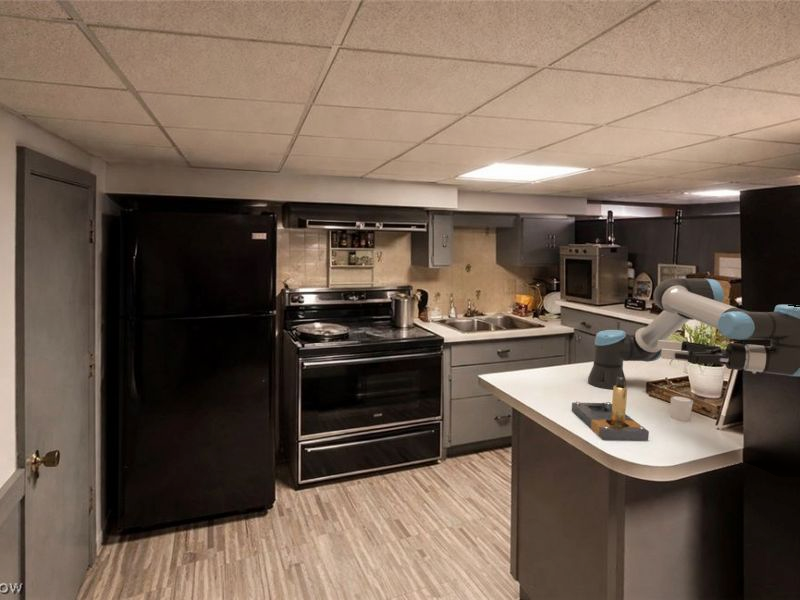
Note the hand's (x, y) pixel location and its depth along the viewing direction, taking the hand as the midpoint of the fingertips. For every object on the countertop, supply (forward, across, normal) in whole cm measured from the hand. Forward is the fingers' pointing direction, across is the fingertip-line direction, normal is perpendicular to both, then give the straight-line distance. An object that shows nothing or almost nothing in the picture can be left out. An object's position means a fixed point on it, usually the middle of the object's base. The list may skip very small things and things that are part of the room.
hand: (659, 348), depth 145 cm
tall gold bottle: (+10, 0, -29) cm, 30 cm away
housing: (+13, +6, -29) cm, 32 cm away
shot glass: (-11, +25, -29) cm, 40 cm away
